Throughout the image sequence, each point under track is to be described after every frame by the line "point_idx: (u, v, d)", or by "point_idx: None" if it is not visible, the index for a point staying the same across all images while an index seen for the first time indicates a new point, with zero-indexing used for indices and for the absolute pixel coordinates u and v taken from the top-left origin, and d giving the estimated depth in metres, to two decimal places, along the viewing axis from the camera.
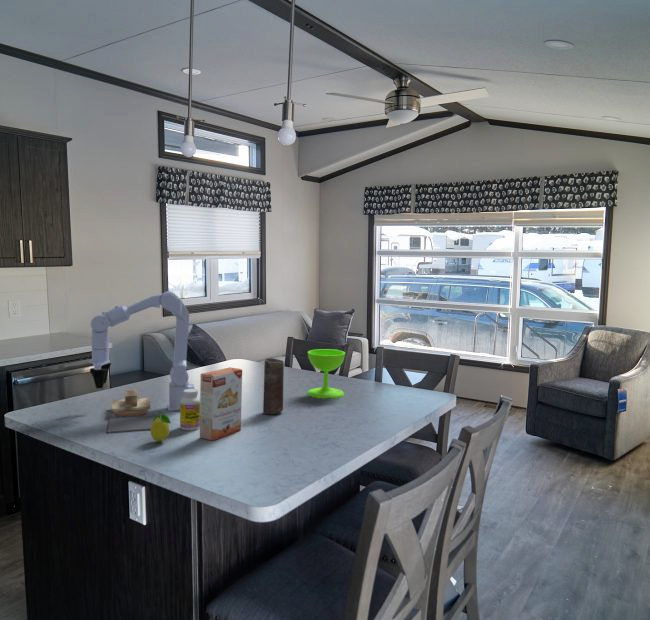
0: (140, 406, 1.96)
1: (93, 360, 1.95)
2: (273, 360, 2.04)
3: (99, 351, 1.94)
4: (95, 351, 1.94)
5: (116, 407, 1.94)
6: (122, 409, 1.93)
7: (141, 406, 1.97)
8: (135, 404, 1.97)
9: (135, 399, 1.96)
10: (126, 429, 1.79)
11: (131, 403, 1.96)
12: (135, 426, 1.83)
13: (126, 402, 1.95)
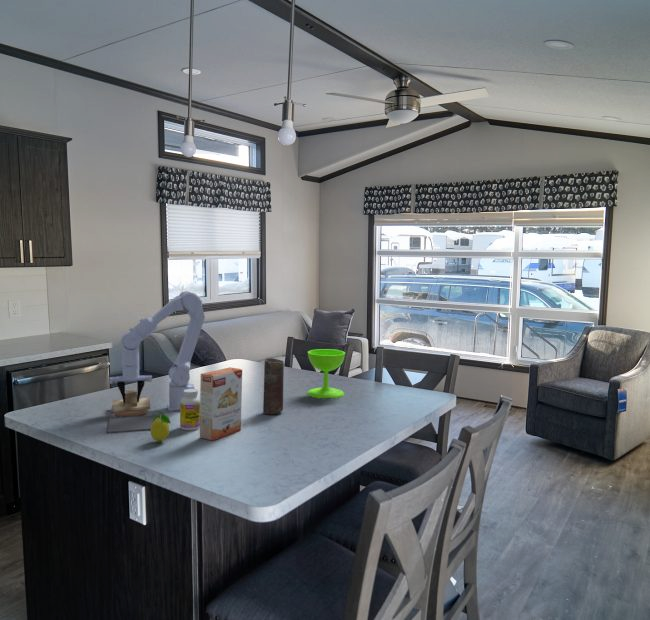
0: (140, 406, 1.96)
1: None
2: (273, 360, 2.04)
3: None
4: None
5: (116, 407, 1.94)
6: (122, 409, 1.93)
7: (141, 406, 1.97)
8: (135, 404, 1.97)
9: (135, 399, 1.96)
10: (126, 429, 1.79)
11: (131, 403, 1.96)
12: (135, 426, 1.83)
13: (126, 402, 1.95)
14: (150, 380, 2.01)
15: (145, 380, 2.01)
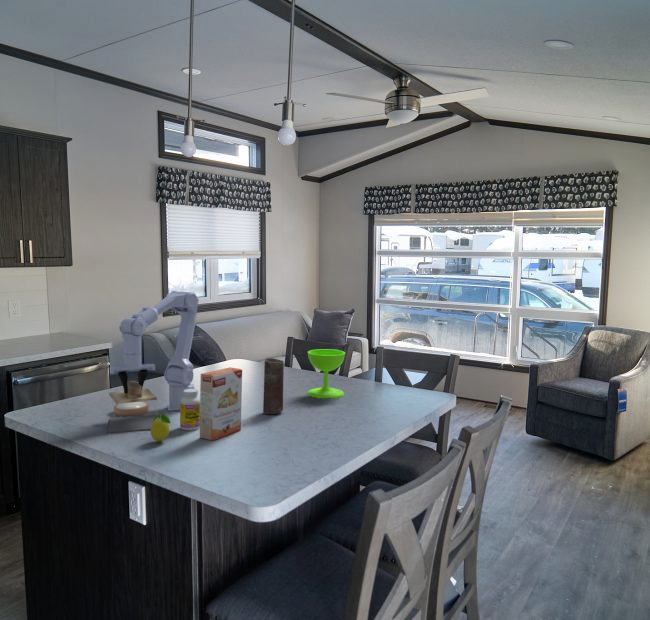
0: (145, 397, 1.85)
1: None
2: (273, 360, 2.04)
3: (124, 355, 1.85)
4: None
5: (120, 399, 1.82)
6: (127, 401, 1.81)
7: (146, 397, 1.86)
8: (140, 395, 1.85)
9: (140, 390, 1.85)
10: (126, 429, 1.79)
11: (135, 394, 1.84)
12: (135, 426, 1.83)
13: (130, 393, 1.83)
14: (153, 368, 1.90)
15: (147, 369, 1.89)
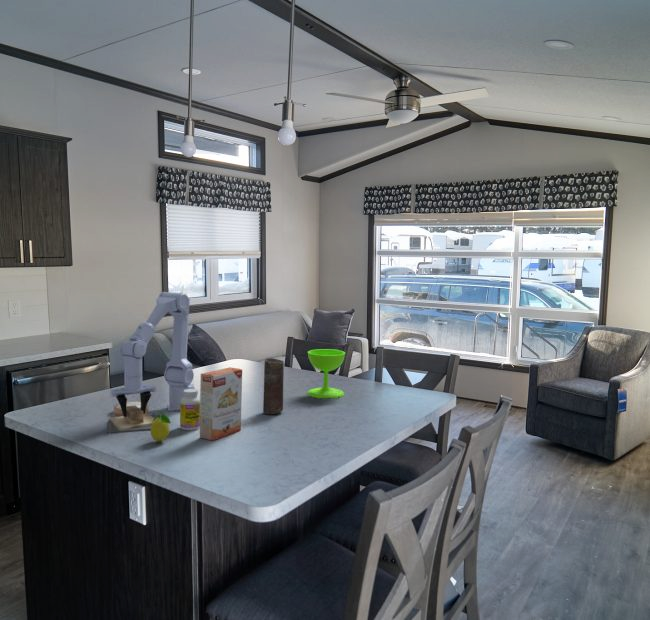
0: (147, 422, 1.85)
1: None
2: (273, 360, 2.04)
3: (124, 378, 1.84)
4: None
5: (122, 425, 1.80)
6: (130, 427, 1.80)
7: (148, 421, 1.85)
8: (141, 420, 1.84)
9: (141, 415, 1.84)
10: (126, 429, 1.79)
11: (137, 420, 1.83)
12: None
13: (132, 419, 1.82)
14: (154, 390, 1.89)
15: (148, 391, 1.88)
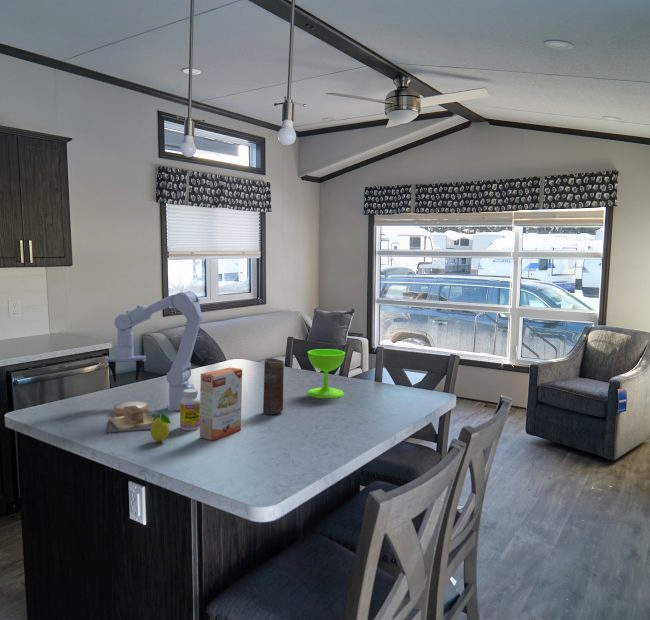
0: (147, 422, 1.85)
1: None
2: (273, 360, 2.04)
3: None
4: None
5: (122, 425, 1.80)
6: (130, 427, 1.80)
7: (148, 421, 1.85)
8: (141, 420, 1.84)
9: (141, 415, 1.84)
10: (126, 429, 1.79)
11: (137, 420, 1.83)
12: None
13: (132, 419, 1.82)
14: (144, 360, 2.10)
15: (139, 360, 2.10)
